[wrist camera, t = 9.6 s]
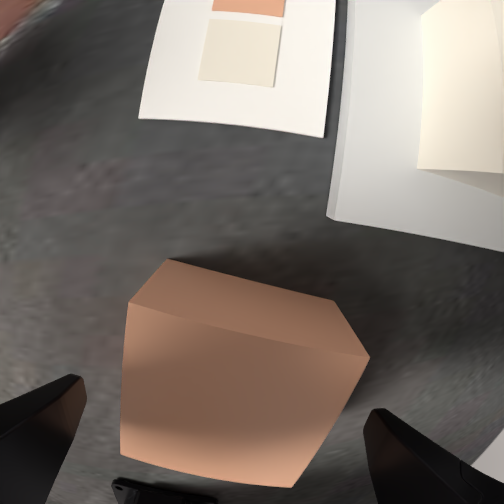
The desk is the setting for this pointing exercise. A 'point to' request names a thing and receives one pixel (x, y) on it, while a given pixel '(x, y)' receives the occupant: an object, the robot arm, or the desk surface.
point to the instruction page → (242, 64)
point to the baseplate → (397, 137)
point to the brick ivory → (464, 93)
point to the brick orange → (232, 375)
